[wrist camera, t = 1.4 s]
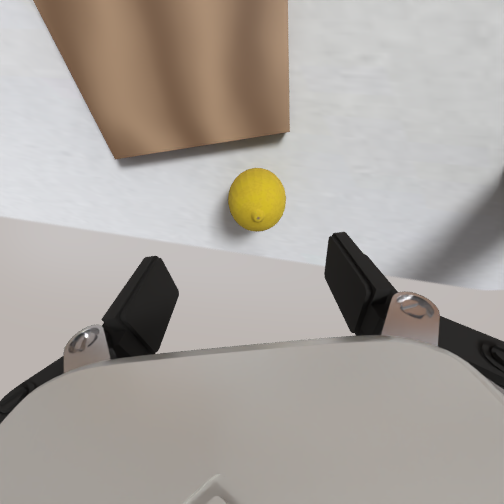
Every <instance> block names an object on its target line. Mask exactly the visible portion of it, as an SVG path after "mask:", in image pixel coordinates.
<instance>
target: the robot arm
mask: <svg viewBox="0 0 504 504" xmlns="http://www.w3.org/2000/svg"><path fill="white" fill-rule="evenodd" d="M325 279H326V281H327V283H328V285H329V287H330V290H331V292H332V294H333V296H334V298H335V300H336V302H337V304H338V306H339V309H340V311H341V313H342V315H343V317H344V319H345V321H346V323H347V325H348V327H349V329H350V331H351V332H352V333H355V334H356V336H346V337H333V338H319V339H308V340H297V341H287V342H275V343H264V344H253V345H243V346H232V347H222V348H212V349H201V350H191V351H181V352H172V353H161V354H155V352H157V351H158V350H159V348H160V345H161V342H162V339H163V337H164V334H165V331H166V329H167V326H168V323H169V321H170V318H171V315H172V312H173V310H174V307H175V304H176V301H177V299H178V296H179V291H178V289H177V287H176V285H175V283H174V281H173V279H172V278H171V276H170V274H169V272H168V270H167V268H166V266H165V264H164V263H163V261H162V259H161V258H158V257H157V256H151V257H145V258H144V259H143V261H142V262H141V264H140V265H139V266H138V268H137V269H136V271H135V272H134V274H133V275H132V277H131V278H130V279H129V281H128V282H127V284H126V285H125V286H124V288H123V289H122V291H121V292H120V294H119V295H118V297H117V298H116V299H115V301H114V302H113V304H112V305H111V307H110V308H109V309H108V311H107V312H106V314H105V315H104V317H103V318H102V321H104V324H103V325H102V326H101V325H91V326H88V327H86V328H84V329H82V330H81V331H79V332H78V333H77V334H75V335H74V336H73V337H72V338H71V339H70V340H69V342H68V343H67V345H66V346H65V349H64V356H63V357H61V358H60V359H58V360H57V361H55V362H54V363H52V364H51V365H49V366H47V367H46V368H44V369H43V370H41V371H40V372H38V373H37V374H35V375H34V376H32V377H31V378H29V379H28V380H26V381H25V382H23V383H22V384H20V385H19V386H17V387H16V388H14V389H13V390H12V391H10V392H9V393H8V394H7V395H6V396H5V397H4V398H3V399H2V400H1V401H0V504H504V342H503V341H501V340H498V339H496V338H493V337H491V336H488V335H486V334H483V333H481V332H479V331H476V330H474V329H471V328H469V327H466V326H464V325H461V324H459V323H456V322H454V321H451V320H449V319H447V318H444V317H442V316H440V314H439V310H438V308H437V307H436V305H435V304H433V303H432V302H431V301H430V300H429V299H427V298H425V297H424V296H421V295H419V294H416V293H412V292H397V291H396V289H395V288H394V287H393V286H392V285H391V283H390V282H389V281H388V280H387V279H386V277H385V276H384V275H383V274H382V273H381V272H380V270H379V269H378V268H377V267H376V266H375V265H374V263H373V262H372V261H371V260H370V259H369V257H368V256H367V255H365V254H363V253H362V251H361V250H360V249H359V248H358V247H357V245H356V244H355V243H354V242H353V241H352V239H351V238H350V237H349V236H348V235H347V233H346V232H339V233H333V235H332V236H330V237H329V241H328V249H327V257H326V265H325Z"/></svg>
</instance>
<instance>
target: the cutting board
mask: <svg viewBox="0 0 504 504" xmlns="http://www.w3.org/2000/svg"><path fill="white" fill-rule="evenodd" d="M33 1H34V3H35V5H36V7H37V9H38V11H39V12H40V14H41V16H42V18H43V20H44V22H45V24H46V26H47V28H48V30H49V32H50V34H51V36H52V38H53V40H54V42H55V44H56V46H57V47H58V49H59V51H60V53H61V55H62V57H63V59H64V61H65V63H66V65H67V67H68V69H69V71H70V73H71V75H72V77H73V79H74V80H75V82H76V84H77V86H78V88H79V90H80V92H81V94H82V96H83V98H84V100H85V102H86V104H87V106H88V108H89V110H90V112H91V114H92V115H93V117H94V119H95V121H96V123H97V125H98V127H99V129H100V131H101V133H102V135H103V137H104V139H105V141H106V143H107V145H108V147H109V148H110V150H111V152H112V154H113V156H114V158H115V159H120V158H127V157H133V156H139V155H146V154H152V153H158V152H165V151H171V150H177V149H184V148H190V147H196V146H203V145H209V144H215V143H222V142H228V141H235V140H241V139H247V138H254V137H260V136H266V135H273V134H279V133H285V132H290V124H289V57H288V0H33Z"/></svg>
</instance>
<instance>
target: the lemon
mask: <svg viewBox="0 0 504 504" xmlns="http://www.w3.org/2000/svg"><path fill="white" fill-rule="evenodd" d="M285 203H286V195H285V190H284V187H283V185H282V183H281V181H280V180H279V179H278V178H277V177H276V175H275V174H273V173H272V172H270V171H268V170H265V169H262V168H252V169H248V170H246V171H244V172H242V173H241V174H240V175H239V176H238V177H236V178H235V180H234V182H233V183H232V185H231V187H230V191H229V195H228V204H229V208H230V212H231V214H232V216H233V218H234V220H235V221H236V222H237V223H238V224H239V225H240V226H242V227H243V228H245V229H247V230H250V231H264V230H267V229H269V228H271V227H273V226H274V225H275V224H276V223H277V222H278V221H279V220H280V218H281V217H282V215H283V212H284V209H285Z"/></svg>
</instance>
